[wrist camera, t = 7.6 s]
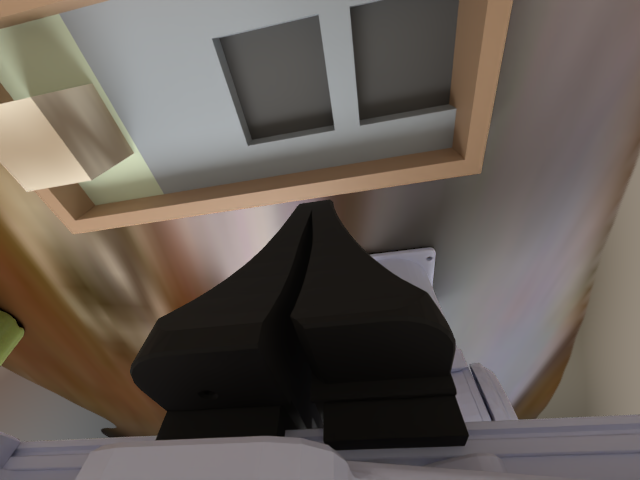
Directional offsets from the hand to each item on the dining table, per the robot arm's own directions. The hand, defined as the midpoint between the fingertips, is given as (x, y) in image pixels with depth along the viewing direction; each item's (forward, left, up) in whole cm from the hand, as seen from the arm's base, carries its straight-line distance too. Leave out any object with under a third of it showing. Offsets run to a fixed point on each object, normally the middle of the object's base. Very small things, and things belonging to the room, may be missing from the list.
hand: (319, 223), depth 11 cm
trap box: (+4, +5, -9) cm, 11 cm away
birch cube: (+4, +14, -8) cm, 16 cm away
